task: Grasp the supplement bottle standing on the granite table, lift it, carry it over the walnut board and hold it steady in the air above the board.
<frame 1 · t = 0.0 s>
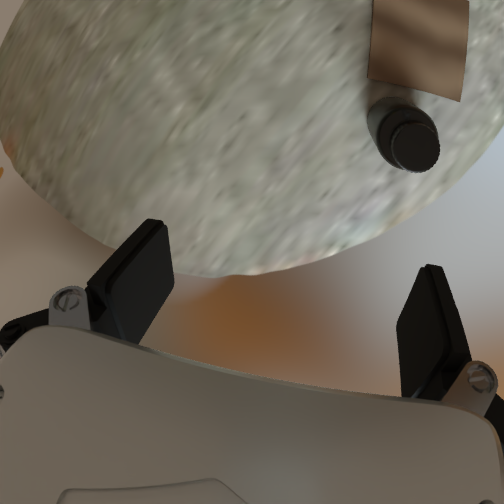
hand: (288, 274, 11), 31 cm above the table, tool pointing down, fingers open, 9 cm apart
walnut board: (419, 36, 27), on the table
supplement bottle: (393, 122, 34), on the table
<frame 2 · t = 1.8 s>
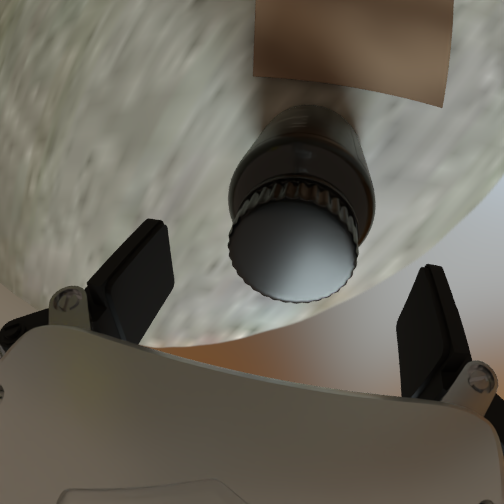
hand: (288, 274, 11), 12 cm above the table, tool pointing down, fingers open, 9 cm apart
supplement bottle: (311, 151, 21), on the table
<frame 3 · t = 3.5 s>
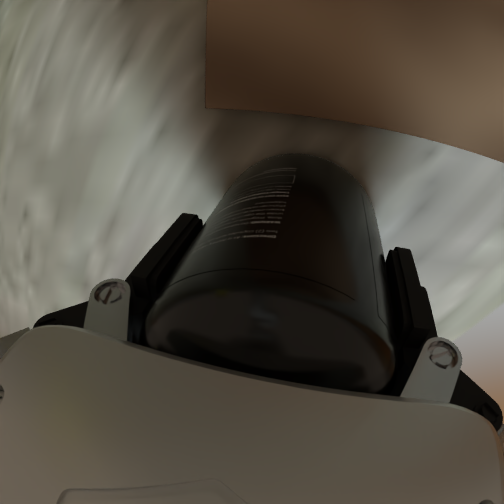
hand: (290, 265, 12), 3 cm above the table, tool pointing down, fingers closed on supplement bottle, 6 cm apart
supplement bottle: (301, 221, 14), on the table, touching gripper
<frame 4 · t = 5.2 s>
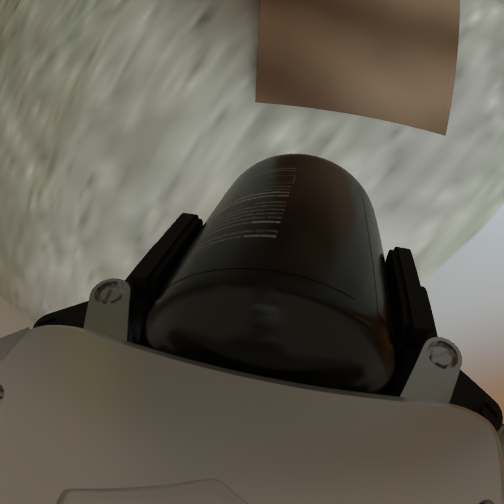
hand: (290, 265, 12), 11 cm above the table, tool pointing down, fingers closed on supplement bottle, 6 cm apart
walnut board: (362, 9, 14), on the table
supplement bottle: (301, 221, 14), point 8 cm above the table, touching gripper
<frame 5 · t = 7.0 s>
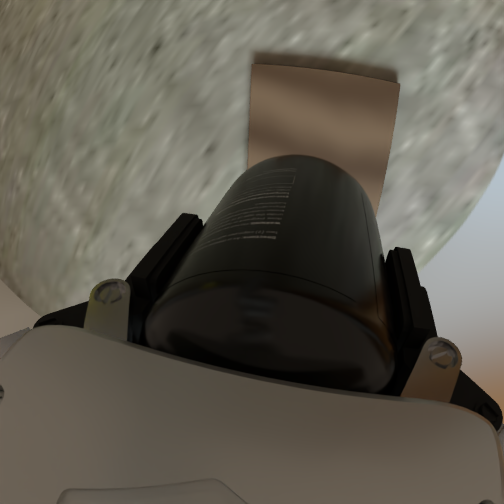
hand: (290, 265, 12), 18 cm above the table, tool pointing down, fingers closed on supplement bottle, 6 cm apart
walnut board: (318, 148, 26), on the table
supplement bottle: (301, 221, 14), point 15 cm above the table, touching gripper
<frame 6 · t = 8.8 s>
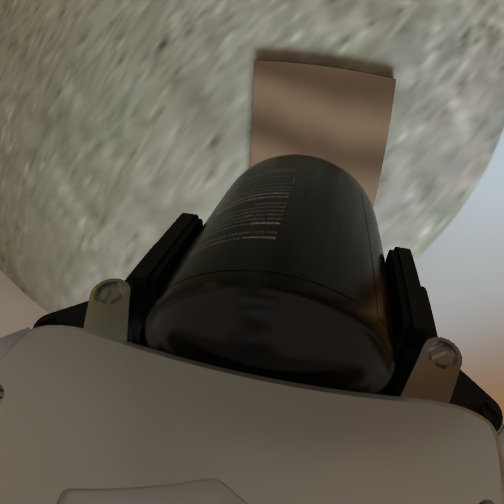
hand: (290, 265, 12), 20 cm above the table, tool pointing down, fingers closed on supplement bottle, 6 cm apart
walnut board: (318, 140, 28), on the table
supplement bottle: (301, 221, 14), point 16 cm above the table, touching gripper
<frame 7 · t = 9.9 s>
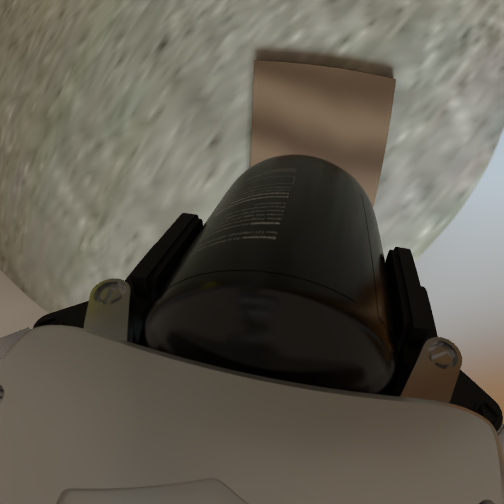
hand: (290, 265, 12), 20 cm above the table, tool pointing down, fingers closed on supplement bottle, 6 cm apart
walnut board: (318, 140, 28), on the table
supplement bottle: (301, 221, 14), point 16 cm above the table, touching gripper
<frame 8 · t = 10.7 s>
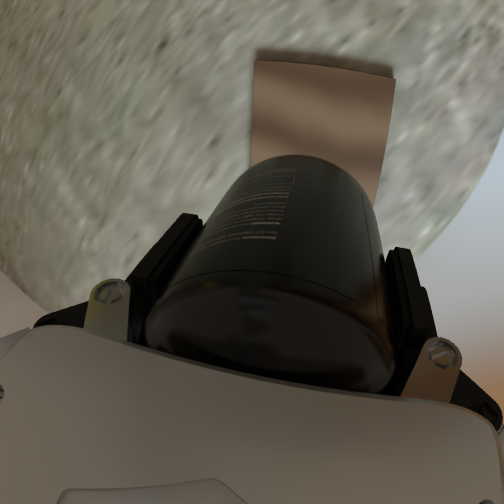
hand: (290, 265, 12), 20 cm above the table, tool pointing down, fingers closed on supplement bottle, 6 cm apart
walnut board: (318, 140, 28), on the table
supplement bottle: (301, 221, 14), point 16 cm above the table, touching gripper
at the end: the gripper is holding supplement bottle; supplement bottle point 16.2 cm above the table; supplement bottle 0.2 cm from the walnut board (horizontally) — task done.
